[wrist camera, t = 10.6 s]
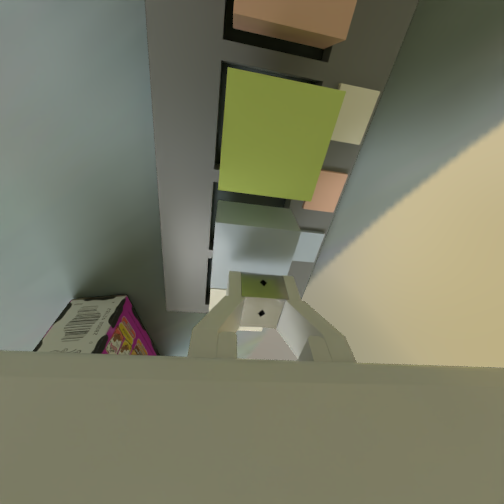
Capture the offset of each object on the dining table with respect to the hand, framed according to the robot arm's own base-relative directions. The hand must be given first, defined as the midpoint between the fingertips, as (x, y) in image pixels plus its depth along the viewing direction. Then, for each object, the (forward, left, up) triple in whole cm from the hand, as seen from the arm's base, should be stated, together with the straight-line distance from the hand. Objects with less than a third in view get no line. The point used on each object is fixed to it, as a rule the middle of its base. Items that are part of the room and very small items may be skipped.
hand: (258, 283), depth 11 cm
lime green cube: (-6, 0, -5) cm, 8 cm away
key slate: (0, 0, -5) cm, 5 cm away
